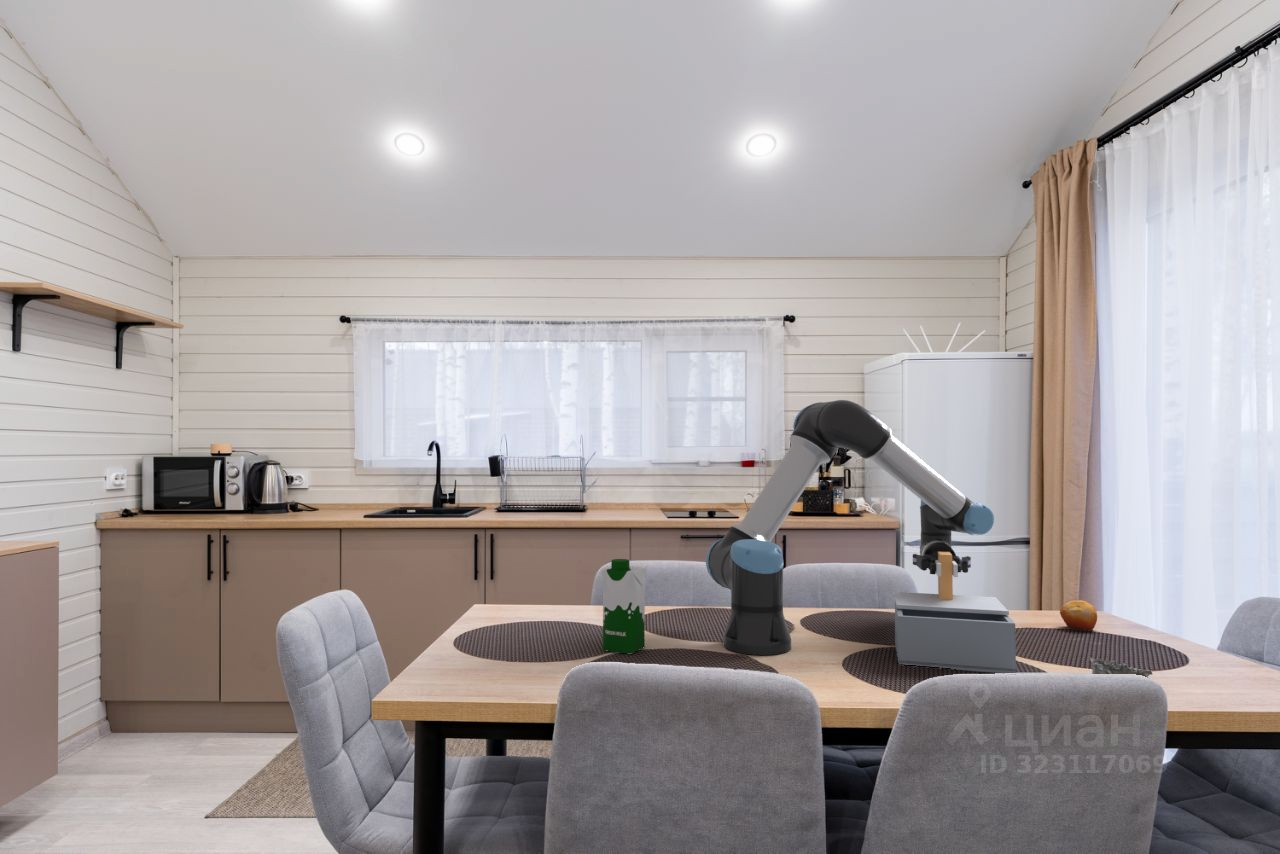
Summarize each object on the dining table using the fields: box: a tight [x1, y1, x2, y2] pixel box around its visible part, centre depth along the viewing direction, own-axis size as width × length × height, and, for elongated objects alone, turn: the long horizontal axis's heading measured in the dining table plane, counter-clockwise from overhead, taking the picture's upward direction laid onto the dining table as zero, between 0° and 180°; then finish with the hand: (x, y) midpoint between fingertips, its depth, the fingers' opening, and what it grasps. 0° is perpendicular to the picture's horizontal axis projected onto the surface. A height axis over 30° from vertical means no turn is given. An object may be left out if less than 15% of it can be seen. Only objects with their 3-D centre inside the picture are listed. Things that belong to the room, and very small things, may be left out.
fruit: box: [1059, 599, 1098, 632], centre depth 187 cm, size 8×8×8 cm
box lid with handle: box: [893, 552, 1010, 616], centre depth 165 cm, size 22×16×11 cm
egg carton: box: [1089, 657, 1153, 678], centre depth 142 cm, size 11×8×4 cm
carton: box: [894, 602, 1017, 674], centre depth 158 cm, size 22×16×10 cm
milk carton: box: [601, 558, 647, 654], centre depth 165 cm, size 9×9×20 cm
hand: (947, 570), depth 163 cm, fingers open, 3 cm apart
